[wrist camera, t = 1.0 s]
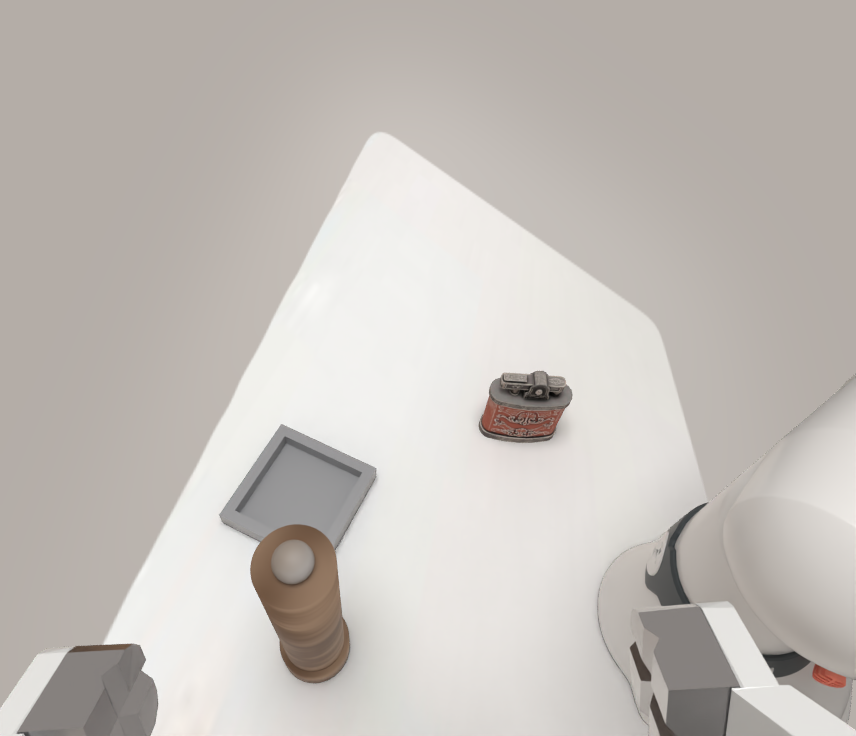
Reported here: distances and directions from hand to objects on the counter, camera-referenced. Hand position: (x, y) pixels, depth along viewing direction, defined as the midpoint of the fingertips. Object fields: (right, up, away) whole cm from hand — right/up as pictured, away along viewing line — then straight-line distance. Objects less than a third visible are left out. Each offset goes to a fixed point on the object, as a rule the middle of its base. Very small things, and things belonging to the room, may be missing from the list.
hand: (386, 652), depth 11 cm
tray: (-12, -8, +53) cm, 55 cm away
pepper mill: (-9, -19, +45) cm, 50 cm away
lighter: (+10, -2, +59) cm, 60 cm away
